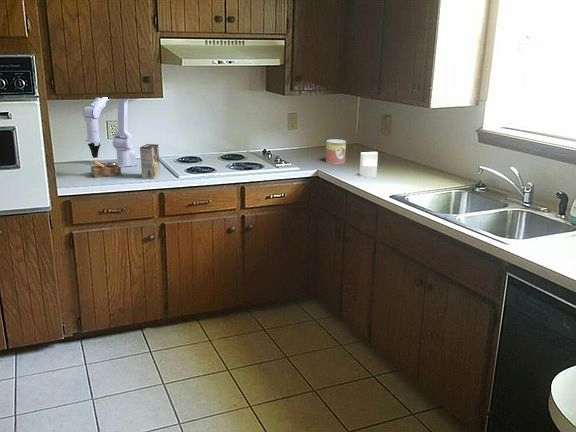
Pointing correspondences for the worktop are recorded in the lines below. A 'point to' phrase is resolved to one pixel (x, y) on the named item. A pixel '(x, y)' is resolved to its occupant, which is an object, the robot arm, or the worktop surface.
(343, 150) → the canned food
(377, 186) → the worktop surface
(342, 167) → the worktop surface
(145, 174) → the coffee box
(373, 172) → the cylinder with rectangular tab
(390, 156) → the worktop surface
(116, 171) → the hitch block
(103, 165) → the block
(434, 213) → the worktop surface
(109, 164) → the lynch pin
